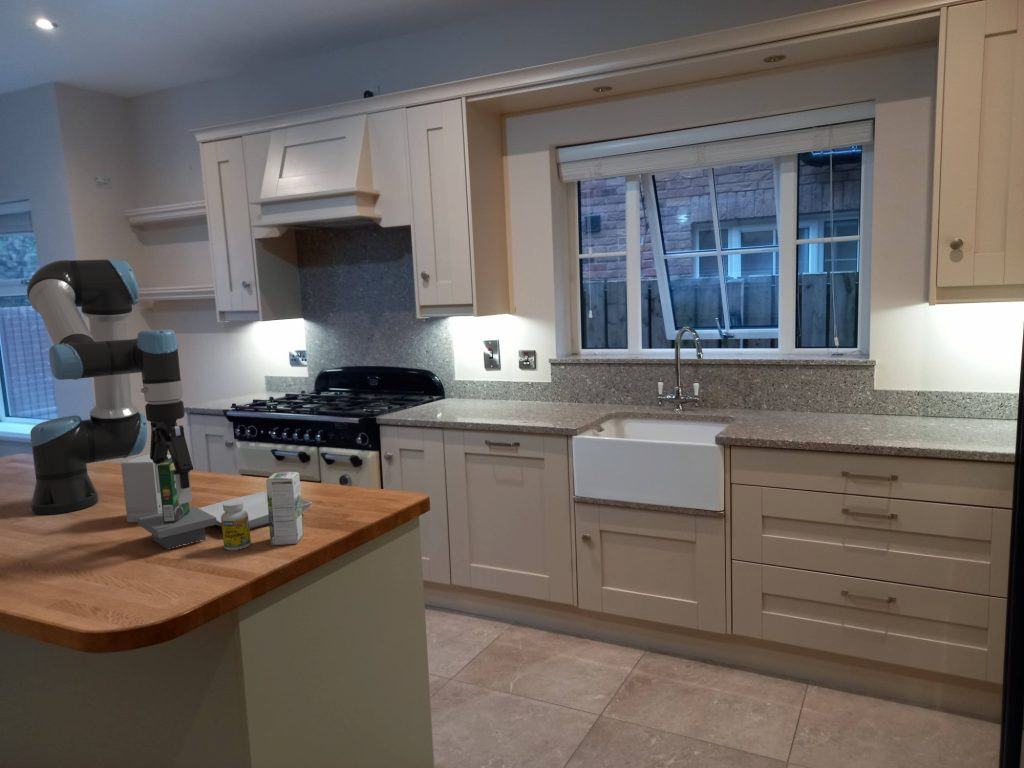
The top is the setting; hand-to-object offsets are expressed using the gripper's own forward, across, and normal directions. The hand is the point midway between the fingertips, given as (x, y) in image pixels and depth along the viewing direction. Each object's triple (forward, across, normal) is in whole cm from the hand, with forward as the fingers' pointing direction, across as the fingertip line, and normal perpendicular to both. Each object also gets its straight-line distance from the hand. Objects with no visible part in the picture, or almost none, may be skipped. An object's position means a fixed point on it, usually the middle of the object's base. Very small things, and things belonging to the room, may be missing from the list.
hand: (174, 497), depth 161 cm
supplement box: (+10, -23, +2) cm, 25 cm away
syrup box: (+10, +20, +16) cm, 27 cm away
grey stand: (+10, 0, 0) cm, 10 cm away
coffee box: (+5, 0, 0) cm, 5 cm away
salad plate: (+10, -3, +18) cm, 21 cm away
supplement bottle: (+10, +15, +7) cm, 19 cm away
